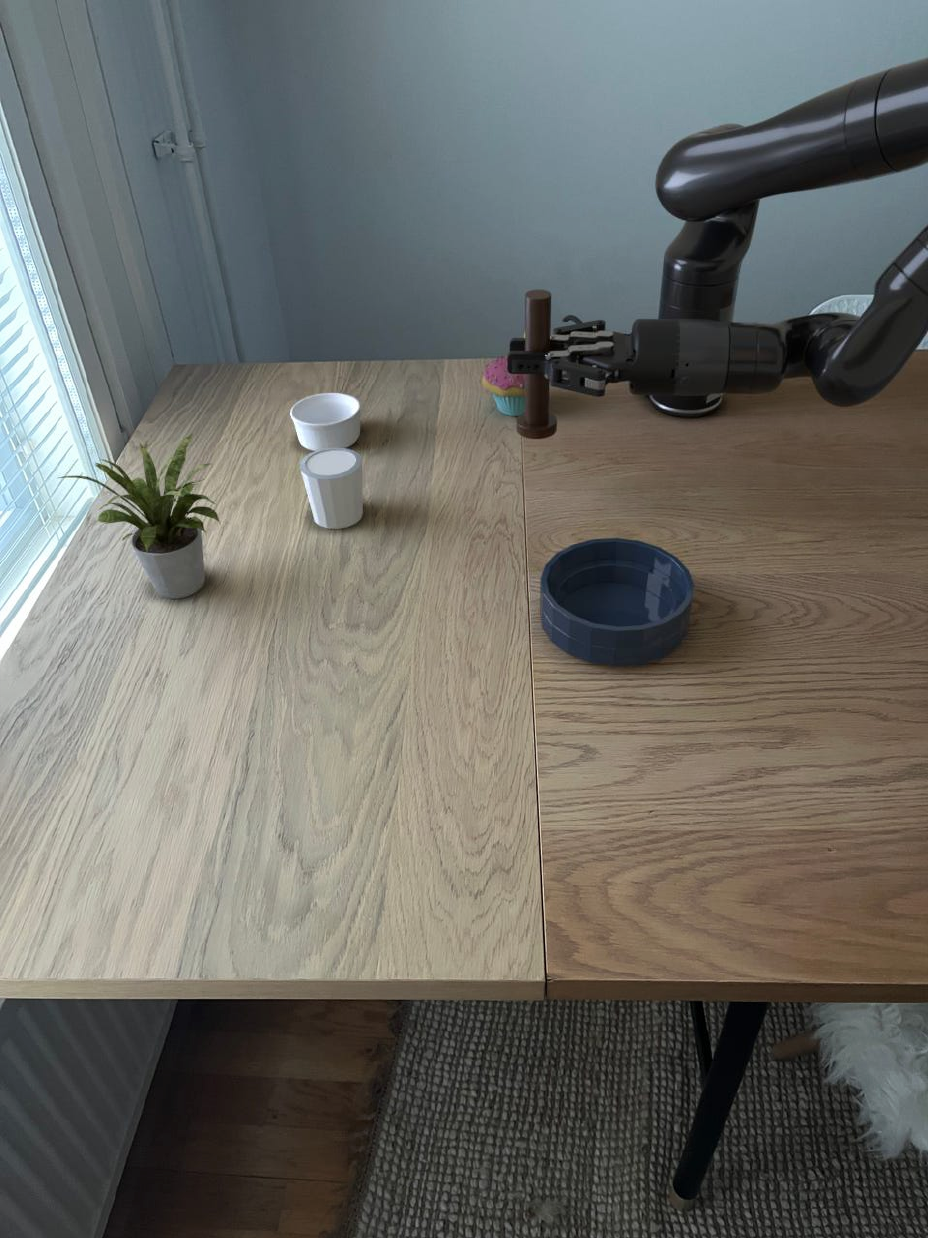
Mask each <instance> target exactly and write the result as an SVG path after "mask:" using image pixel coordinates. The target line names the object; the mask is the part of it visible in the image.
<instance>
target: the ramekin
mask: <svg viewBox="0 0 928 1238" xmlns="http://www.w3.org/2000/svg"><path fill="white" fill-rule="evenodd" d="M289 413H290V418H291V420H292V422H293V424H294V428H295V432H296V435H297V438H298V441H299V443H300V445H301V446H302V447H303V448H305V449H307V450H310V451H312V452H315V451H317V450H320V449H326V448H332V447H334V448H346V449H347V448H349V447H350V446H352V445H353V444H355V443H356V442H357V440H358V439H359V437H360V435H361V416H360V415H361V403H360V401H359V400H358V399H357V398H356V397H354V396H352V395H350V394H346V393H341V392H323V393H316V394H312V395H309V396H306V397H304V398H302V399H300V400H298V401H297V402H296V403H294V405H292V407H291V408H290V411H289Z"/></svg>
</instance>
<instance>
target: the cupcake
mask: <svg viewBox="0 0 928 1238" xmlns="http://www.w3.org/2000/svg"><path fill="white" fill-rule="evenodd" d="M523 338H525V333H524V334H523ZM507 357H508V355H505V354H504V355H501V356H498V357H496V358H495V359H493V360H492V361H490V362H489V363H487V365H485V366H484V367H485V368H484V370H483V372H482V373H483V375H482V386H483V388H484V389H485V390H486V391H488V392H490V393H491V394H492V396H493V398H494V401H495V404H496V407H497V410H498V411H499V412H500V413H501V414H503V415H505V416H511V417H518V416H519V415H520V414H522V413H524V412H525V374H510V373H509V372H508V370H507Z"/></svg>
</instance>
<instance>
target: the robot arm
mask: <svg viewBox="0 0 928 1238" xmlns="http://www.w3.org/2000/svg"><path fill="white" fill-rule="evenodd" d="M927 164H928V56H927V57H923V58H921V59H917V60H914V61H910V62H907V63H903V64H899V65H897V66H896V65H895V66H894V67H889V68H888V69H884V70H881V71H878V72H875V73H872V74H869V75H866V76H862V77H861V78H858V79H855V80H853V81H850V82H847V83H846V84H843V85H840V86H838V87H836V88H835V87H834V88H833V89H830V90H828V91H826V92H823V93H820V94H819V95H817V96H814V97H812V98H810V99H808V100H807V99H806V100H805V101H803V102H801V103H799V104H797V105H795V106H793V107H790V108H788V109H786V110H784V111H782V112H779V113H777V114H776V115H773V116H771V117H770V118H767V119H765V120H761V121H758V122H756V123H753V124H750V125H747V126H744V125H743V124H739V123H724V124H723V123H722V124H720V125H717V126H713V127H710V128H707V129H704V130H701V131H698V132H694V133H692V134H689V135H687V136H685V137H683V138H681V139H679V140H678V141H677V142H676V143H674V144H673V145H672V146H671V147H670V148H669V149H668V150H667V151H666V153H665V154H664V155H663V157H662V159H661V161H660V163H659V165H658V167H657V171H656V175H655V183H654V185H655V193H656V197H657V199H658V201H659V203H660V204H661V206H662V208H663V209H664V210H665V211H666V212H667V213H669V214H670V215H671V216H673V217H674V218H677V219H679V220H680V221H685V222H684V224H683V226H682V227H681V229H680V231H679V232H678V234H677V235H676V236H675V237H674V239H672V241H671V242H670V243H669V244H668V246H667V247H666V250H665V251H664V256H663V264H662V273H661V274H662V275H661V284H660V285H661V286H660V295H659V296H660V297H659V305H658V314H657V318H637V319H636V320H634V322H633V323H632V327H631V332H630V333H624V332H623V333H622V332H619V331H618V332H617V331H611V330H610V331H609V330H606V321H605V320H603V319H596V320H591V321H585V322H583V321H582V320H581V319H580V318H579V317H577V316H575V315H573V314H568V315H566V316H565V317H564V318H563V319H562V323H567V322H569V321H571V322H573V323H574V324H569V325H563V326H559V327H555V328H553V329H552V332H553V333H552V334H551V336H550V351H549V352H546V353H545V356H544V351H525V338H524V337H513V338H511V339H510V341H509V351H508V353H507V356H508V357H507V370H508V372H509V373H510V374H544V377H545V378H548V379H550V383H549V386H551V387H553V388H558V389H561V390H567V391H571V392H574V393H579V394H583V395H588V396H592V397H596V398H601V397H604V396H605V394H606V393H605V392H606V387H607V385H609V384H618V383H624V382H628V389H629V392H630V394H632V395H634V396H644V397H645V398H647V399H648V400H649V403H650V405H651V406H652V407H653V408H654V409H656V410H658V411H659V412H662V413H664V414H666V415H670V416H676V417H682V418H683V417H684V418H695V417H696V418H697V417H704V416H707V415H710V414H713V413H714V412H716V411H717V410H718V409H719V408H720V407H721V405H722V400H723V395H760V394H761V395H762V394H769V393H772V392H774V391H776V390H777V389H778V388H779V387H780V386H781V384H782V382H783V380H789V379H798V378H811V380H812V383H813V385H814V388H815V390H816V392H817V394H818V395H819V397H821V398H822V400H823V401H825V402H826V403H828V404H830V405H831V406H834V407H838V408H849V407H850V408H851V407H854V406H858V405H861V404H863V403H865V402H868V401H870V400H871V399H873V398H875V397H876V396H877V395H878V394H880V393H882V391H884V390H885V389H886V388H887V387H888V386H889V385H890V384H891V383H892V382H893V381H894V380H895V378H896V377H897V376H898V374H899V373H900V372H901V371H902V370H903V368H904V367H905V365H906V364H907V362H908V361H909V360H910V358H911V357H912V355H913V354H914V353H915V351H916V350H917V349H918V347H919V346H920V345H921V343H922V342H923V340H924V339H925V337H926V335H927V334H928V222H927V223H926V224H925V225H924V226H923V227H922V228H921V229H920V230H919V231H918V232H917V234H916V235H914V236H913V238H912V239H911V240H909V242H908V243H907V244H906V245H905V246H904V247H903V248H902V249H901V250H900V251H899V252H898V253H897V254H896V255H895V256H894V257H893V259H892V260H890V262H889V263H888V264H887V265H886V266H885V267H884V268H883V270H882V271H881V272H880V273H879V275H878V276H877V278H876V280H875V281H874V282H875V283H874V289H873V297H872V299H871V302H870V304H869V305H868V306H867V308H865V310H864V312H863V313H862V314H861V315H860V316H859V315H858V314H857V315H856V314H852V313H848V312H839V311H838V312H837V311H828V312H827V311H826V312H819V313H813V314H807V315H806V314H805V315H800V316H795V317H789V318H786V319H782V320H778V321H777V320H776V321H773V322H760V321H757V322H756V321H755V322H754V321H734V320H733V319H734V315H735V309H736V308H735V307H736V303H737V302H736V301H737V295H738V286H739V280H740V274H741V268H742V264H743V261H744V259H745V257H746V256H747V254H748V251H749V249H750V248H751V244H752V241H753V237H754V232H755V226H756V222H757V217H758V213H759V212H758V211H759V207H760V202H761V200H762V199H766V198H769V197H773V196H778V195H785V194H791V193H799V192H807V191H808V192H809V191H815V190H820V189H825V188H832V187H837V186H843V185H849V184H853V183H859V182H865V181H869V180H875V179H877V178H878V179H879V178H882V177H886V176H890V175H891V176H892V175H895V174H899V173H903V172H907V171H910V170H914V169H916V168H920V167H923V166H925V165H927Z"/></svg>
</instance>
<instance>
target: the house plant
mask: <svg viewBox="0 0 928 1238" xmlns="http://www.w3.org/2000/svg"><path fill="white" fill-rule="evenodd" d="M194 434H195V432H193V433H191V434H189V435H188V436H186V437H185V438H184V439H183V440H182V441H181V442H180V444H179V445H178V447H177V448H176V450H175V452H174V454H173V456H172V457H171V458H170V459H168V461H166V463H164V465H163V466H162V468H161V469H160V471H159V473H158V474H157V470H156V467H155V463H154V461H153V459H152V456H151V455H150V453H149V451H148V440H146V441H145V444H144V445H143V444H142V443H141V442H139V448H140V452H141V453H142V463H143V470H144V477H145V478H144V479H145V480H144V479H143V478H141V477H135V478H133V479H131V478H130V477H129V476H128V474H127V473H126V471H125V470H124V469H123V468H122V467H121V466H120V465H118V464H116V463H115V462H113V461H110V460H107V459H101V458H99V460H100V461H103V462H106V463H108V464H109V465H111V466H113V468H115V469H116V470H117V471H118V472H119V473H118V472H116V471H115V470H114V469H113V468H110V467H109V466H108V465H105V464H103V463H98V462H93V465H94V466H96V467H97V468H98V469H99V470H100V471H102V472H104V473H106V474H107V476H108V477H109V478H110V479H111V480H112V481H113V482H115V483H117V484H118V485H119V486H120V487H122V488H123V489H124V491H126V492H127V494H122V495H121V494H120V493H118V492H116V491H115V490H114V489H112V488H111V487H109V486H108V485H107V484H104V483H103V482H101V481H99V480H98V479H94V478H92V477H91V476H85V475H64V476H60V477H58V479H68V478H70V479H73V478H74V479H75V478H76V479H83V480H88V481H91V482H93V483H96V484H98V485H100V486H102V487H103V488H105V489H106V490H108V491H109V492H111V493H112V494H114V495H115V496H113V497H112V498H111V499H110V500H108V501H107V503H105V504H103V505H102V506H100V508H99V509H98V511H100V510H101V509H103V508H105V507H107V506H108V505H114V506H117V507H118V508H120V509H122V510H124V511H121V510H117V509H112V508H111V509H110V508H109V509H105V510H103V511H102V512H101V513H99V515H98V517H97V518H96V521H95V522H96V523H97V522H100V523H103V524H102V526H104V525H108V524H114V523H125V522H126V523H128V524H130V525H133V526H135V527H136V529H135V531H134V532H132V533H127V534H126V535H124V536H123V537H122V539H121V540H120V542H122V541H124V540H126V539H127V538H129V537H130V536H131V537H130V547H131V548H132V550H133V551H134V554H135V555H136V557H137V559H138V561H139V563H140V564H141V567H142V569H143V571H144V572H145V575H146V576H147V577H148V580H149V581H150V583H151V585H152V586H153V589H154V590H155V592H156V594H157V595H158V596H160V597H162V598H165V599H174V600H175V599H182V598H186V597H189V596H191V595H193V594H196V593H198V591H199V590H200V589H202V588H203V586H204V584H205V581H206V579H205V563H204V546H203V532H204V533H205V534H207V531H206V530H205V526H204V522H203V521H202V520H201V519H200V518H199V517H198V516H192V517H191V516H190V517H189V516H188V515H189V514H197V515H201V516H204V517H207V518H210V519H214V520H215V521H217V522H218V523H219V524H220V525H221V522H220V519H219V516H218V513H217V512H216V511H215V509H214V508H211V507H209V506H203V505H202V506H200V505H199V506H193V505H194V504H195V503H196V502H197V501H200V500H206V501H207V502H210V503H212V504H214V505H216V503H215V502H214V500H212V499H210V498H209V497H208V496H206V495H204V494H198V493H192V492H193V489H194V488H195V486H196V485H197V482H198V483H199V482H201V481H204V480H205V478H203V479H198V480H194V481H193V480H192V481H190V480H191V478H192V477H193V476H194V475H195V474H196V473H197V472H199V471H201V470H202V469H204V468H206V467H208V466H210V465H211V463H204V464H200V465H199V466H197V467H196V468H194V469H193V470H192V471H190V473H189V474H188V475H187V477H186V478H184V480H183V481H182V484H180V486H178V487H177V484H178V481H179V477H180V474H181V472H182V469H183V466H184V465H185V461H186V458H187V457H186V456H187V448H188V447H189V444H190V443H191V440H192V438H193V436H194ZM166 469H167V470H166ZM165 470H166V472H165ZM164 473H165V476H164V489H163V490H164V491H163V494H162V495H161V489H160V482H161V479H162V476H163V474H164ZM157 475H158V476H157ZM118 498H120V499H122V501H124V502H126V503H127V504H128V505H130V506H131V507H132V508H133V509H135V510H136V511H137V513H139V514H140V515H141V516H143V518H144V519H145V520H146V521H145V520H143V518H141V517H140V516H139V515H138V514H137V513H135V512H134V511H133V510H131V509H130V507H129V506H126V505H124V504H122V503H119V502H114V501H116V500H117V499H118ZM130 501H131V502H132V503H131V502H130ZM134 504H135V505H136V506H137V507H138V508H137V507H136V506H135V505H134ZM174 504H175V505H174Z"/></svg>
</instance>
